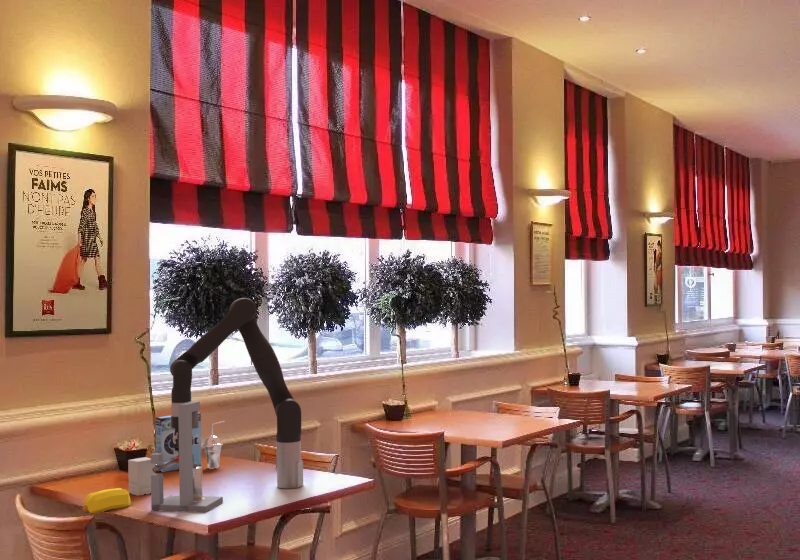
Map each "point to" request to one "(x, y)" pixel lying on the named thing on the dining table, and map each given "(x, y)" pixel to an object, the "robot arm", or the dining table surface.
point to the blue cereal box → (165, 445)
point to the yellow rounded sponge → (106, 500)
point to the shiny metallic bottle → (197, 482)
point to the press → (181, 469)
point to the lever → (166, 464)
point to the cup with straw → (213, 449)
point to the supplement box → (140, 475)
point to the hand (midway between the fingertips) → (182, 461)
